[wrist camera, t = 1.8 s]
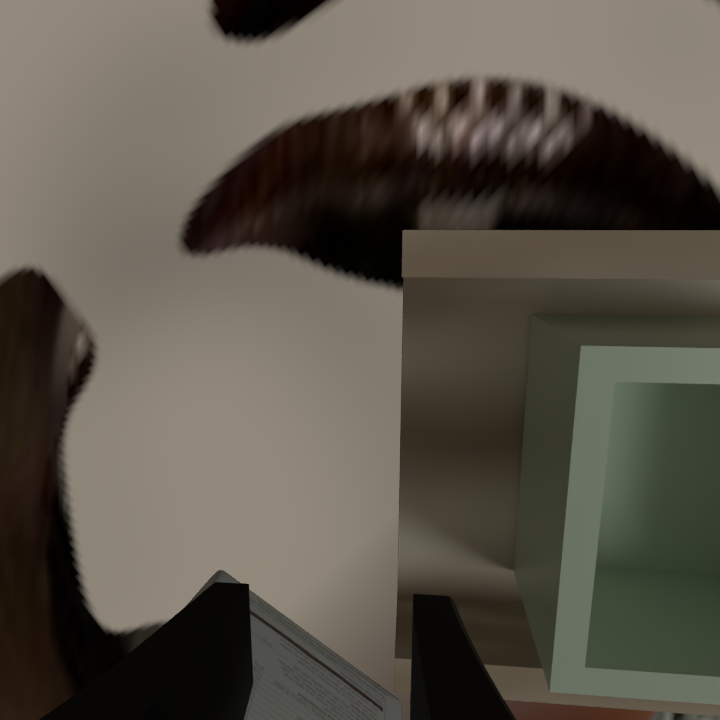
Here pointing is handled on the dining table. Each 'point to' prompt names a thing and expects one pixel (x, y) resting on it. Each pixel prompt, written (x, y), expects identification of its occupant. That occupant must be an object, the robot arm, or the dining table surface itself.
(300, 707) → the supplement box
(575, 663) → the box
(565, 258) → the bay
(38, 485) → the dining table surface
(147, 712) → the robot arm
